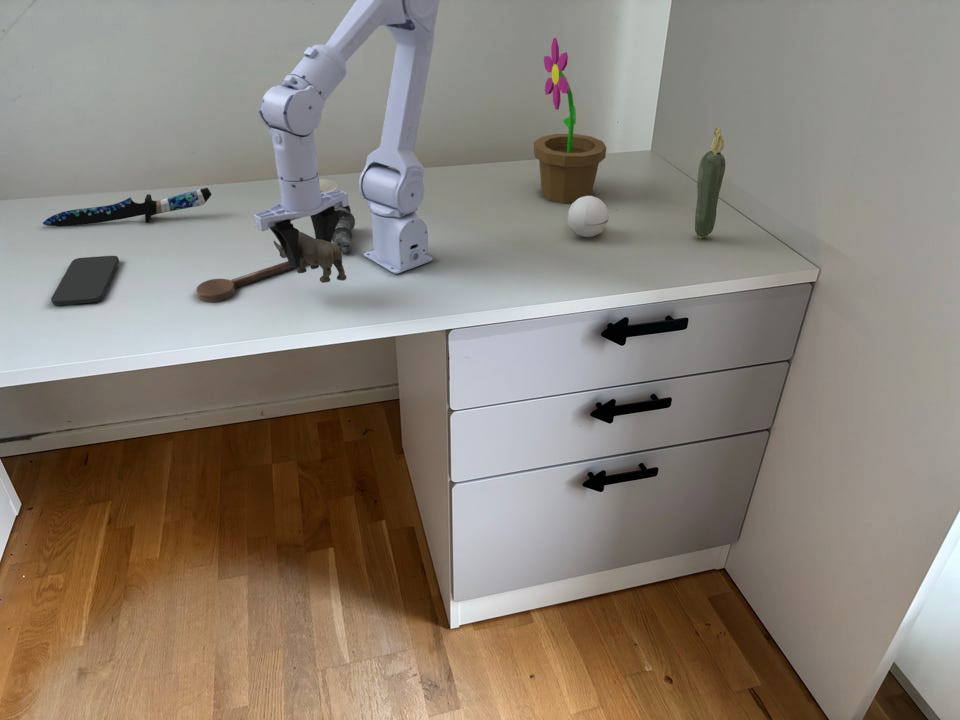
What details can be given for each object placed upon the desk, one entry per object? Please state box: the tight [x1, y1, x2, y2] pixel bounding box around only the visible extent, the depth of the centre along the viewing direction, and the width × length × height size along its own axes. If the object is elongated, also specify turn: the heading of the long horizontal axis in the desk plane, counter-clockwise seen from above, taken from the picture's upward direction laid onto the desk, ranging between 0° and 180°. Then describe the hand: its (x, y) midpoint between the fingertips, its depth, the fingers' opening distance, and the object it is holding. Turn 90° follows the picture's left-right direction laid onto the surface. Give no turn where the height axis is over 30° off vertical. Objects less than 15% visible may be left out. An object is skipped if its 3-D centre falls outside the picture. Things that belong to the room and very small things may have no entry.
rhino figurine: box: [272, 231, 347, 284], centre depth 116 cm, size 4×14×6 cm, turn 56°
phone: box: [50, 255, 120, 306], centre depth 123 cm, size 7×1×15 cm
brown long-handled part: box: [196, 260, 309, 303], centre depth 125 cm, size 22×6×1 cm, turn 132°
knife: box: [42, 187, 212, 227], centre depth 143 cm, size 31×3×4 cm, turn 98°
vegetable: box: [694, 127, 726, 240], centre depth 133 cm, size 4×4×20 cm
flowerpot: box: [533, 37, 607, 204], centre depth 149 cm, size 14×14×30 cm
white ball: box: [567, 195, 617, 238], centre depth 138 cm, size 10×7×7 cm
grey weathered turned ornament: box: [332, 205, 356, 254], centre depth 135 cm, size 6×6×12 cm
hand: (309, 260), depth 117 cm, fingers closed on rhino figurine, 4 cm apart
